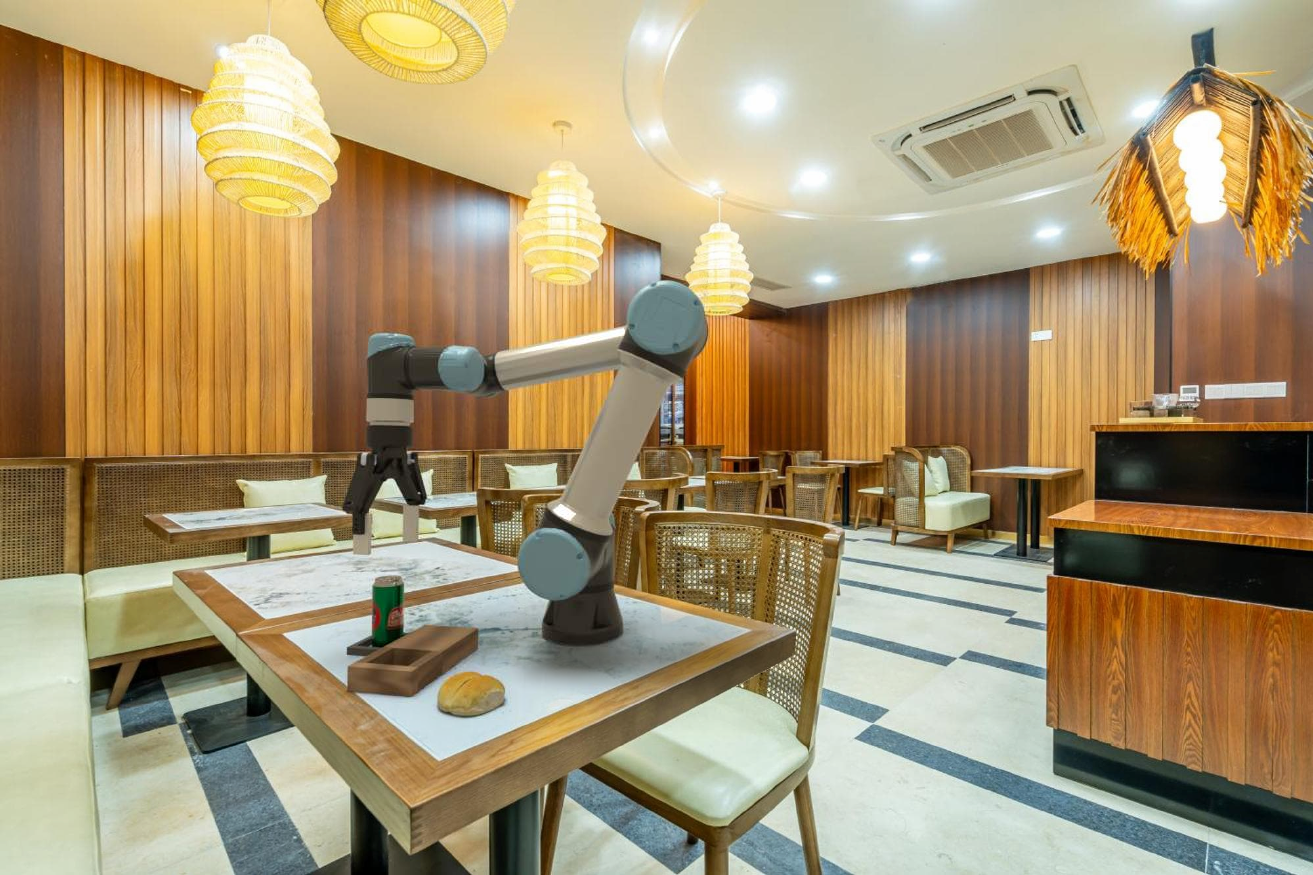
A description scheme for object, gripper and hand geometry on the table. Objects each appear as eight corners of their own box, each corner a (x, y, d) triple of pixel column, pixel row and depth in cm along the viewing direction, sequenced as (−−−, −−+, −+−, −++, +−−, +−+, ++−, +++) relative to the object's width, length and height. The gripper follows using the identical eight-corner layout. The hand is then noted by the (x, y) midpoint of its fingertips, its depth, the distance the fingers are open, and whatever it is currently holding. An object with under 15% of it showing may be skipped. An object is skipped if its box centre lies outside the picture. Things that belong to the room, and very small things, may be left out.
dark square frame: (425, 640, 108) (426, 633, 108) (395, 658, 99) (395, 651, 99) (380, 637, 110) (380, 630, 110) (346, 654, 101) (346, 647, 101)
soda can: (391, 653, 101) (392, 581, 101) (364, 651, 102) (365, 580, 102) (409, 643, 106) (410, 575, 106) (384, 641, 107) (384, 573, 107)
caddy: (478, 648, 104) (478, 628, 104) (411, 696, 84) (411, 671, 84) (424, 644, 106) (425, 624, 106) (347, 690, 86) (347, 666, 86)
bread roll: (471, 686, 89) (471, 659, 89) (514, 701, 84) (515, 672, 84) (422, 707, 82) (422, 677, 82) (466, 724, 77) (467, 693, 77)
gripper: (411, 426, 118) (409, 535, 117) (318, 421, 93) (315, 559, 93) (447, 426, 116) (445, 537, 116) (362, 422, 92) (359, 562, 92)
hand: (387, 547), depth 104 cm, fingers open, 13 cm apart
